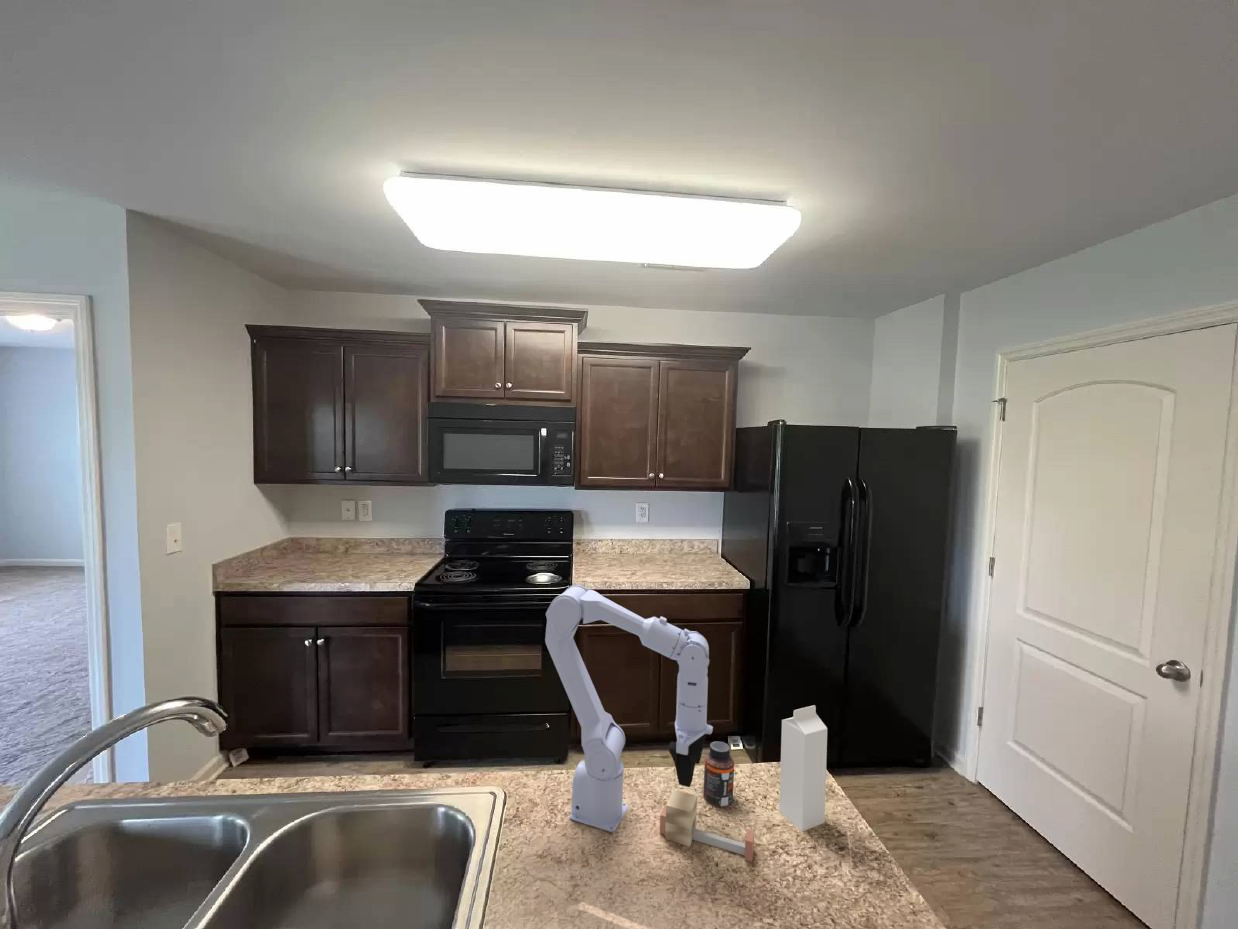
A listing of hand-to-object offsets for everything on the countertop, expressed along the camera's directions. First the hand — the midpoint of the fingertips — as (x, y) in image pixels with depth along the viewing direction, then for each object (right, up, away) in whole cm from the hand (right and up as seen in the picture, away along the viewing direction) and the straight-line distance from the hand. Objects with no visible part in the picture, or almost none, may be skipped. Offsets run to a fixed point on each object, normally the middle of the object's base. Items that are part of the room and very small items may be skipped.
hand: (689, 773), depth 93 cm
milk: (+22, -11, +3) cm, 25 cm away
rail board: (+2, -10, -4) cm, 12 cm away
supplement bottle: (+7, -11, +8) cm, 15 cm away
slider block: (-2, -9, -3) cm, 10 cm away
